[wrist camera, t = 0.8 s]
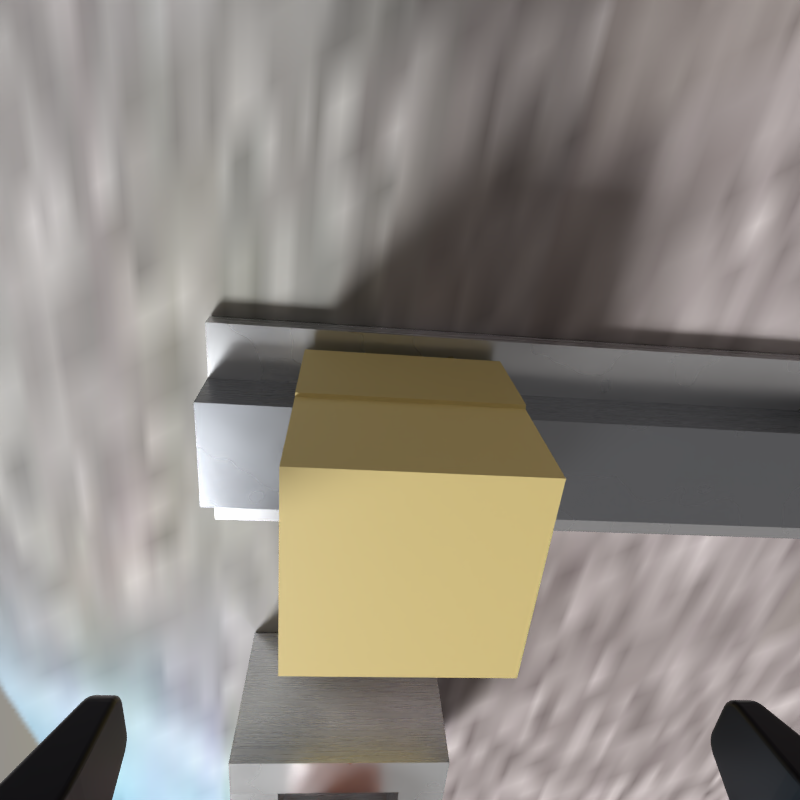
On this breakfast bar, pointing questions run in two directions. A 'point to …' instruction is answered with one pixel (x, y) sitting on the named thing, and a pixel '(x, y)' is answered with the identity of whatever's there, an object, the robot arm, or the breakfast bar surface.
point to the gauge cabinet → (336, 735)
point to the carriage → (410, 519)
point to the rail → (543, 423)
